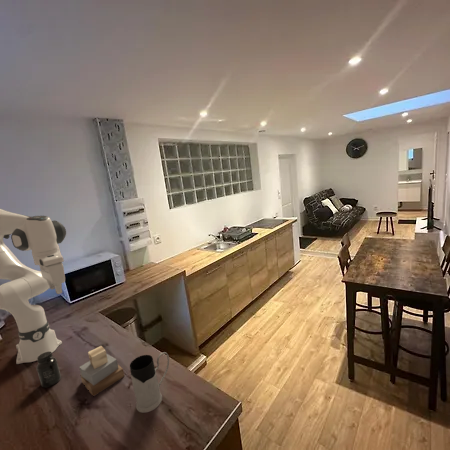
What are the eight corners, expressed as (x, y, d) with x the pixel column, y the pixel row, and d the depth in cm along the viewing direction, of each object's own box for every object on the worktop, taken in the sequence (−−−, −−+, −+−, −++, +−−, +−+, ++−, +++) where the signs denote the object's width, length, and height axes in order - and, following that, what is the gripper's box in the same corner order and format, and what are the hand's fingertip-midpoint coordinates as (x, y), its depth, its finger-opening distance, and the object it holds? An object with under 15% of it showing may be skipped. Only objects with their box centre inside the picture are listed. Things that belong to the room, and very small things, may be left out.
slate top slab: (81, 376, 101) (79, 367, 100) (105, 360, 109) (103, 351, 108) (93, 385, 95) (91, 376, 94) (118, 368, 102) (116, 359, 102)
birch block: (90, 363, 101) (87, 352, 100) (103, 356, 105) (101, 345, 104) (94, 369, 98) (91, 357, 97) (108, 361, 101) (105, 350, 100)
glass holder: (131, 403, 89) (123, 364, 86) (167, 378, 98) (160, 342, 96) (143, 417, 82) (134, 375, 80) (180, 389, 92) (173, 351, 90)
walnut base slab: (82, 383, 102) (80, 374, 102) (112, 365, 111) (110, 357, 110) (93, 398, 94) (91, 388, 93) (124, 377, 103) (122, 368, 102)
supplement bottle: (64, 374, 108) (58, 348, 107) (54, 386, 102) (47, 359, 100) (48, 376, 108) (41, 350, 107) (37, 389, 102) (29, 362, 100)
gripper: (32, 257, 104) (40, 289, 106) (44, 262, 90) (53, 299, 92) (50, 252, 109) (58, 283, 111) (64, 257, 95) (72, 292, 97)
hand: (56, 291), depth 102 cm, fingers open, 8 cm apart
